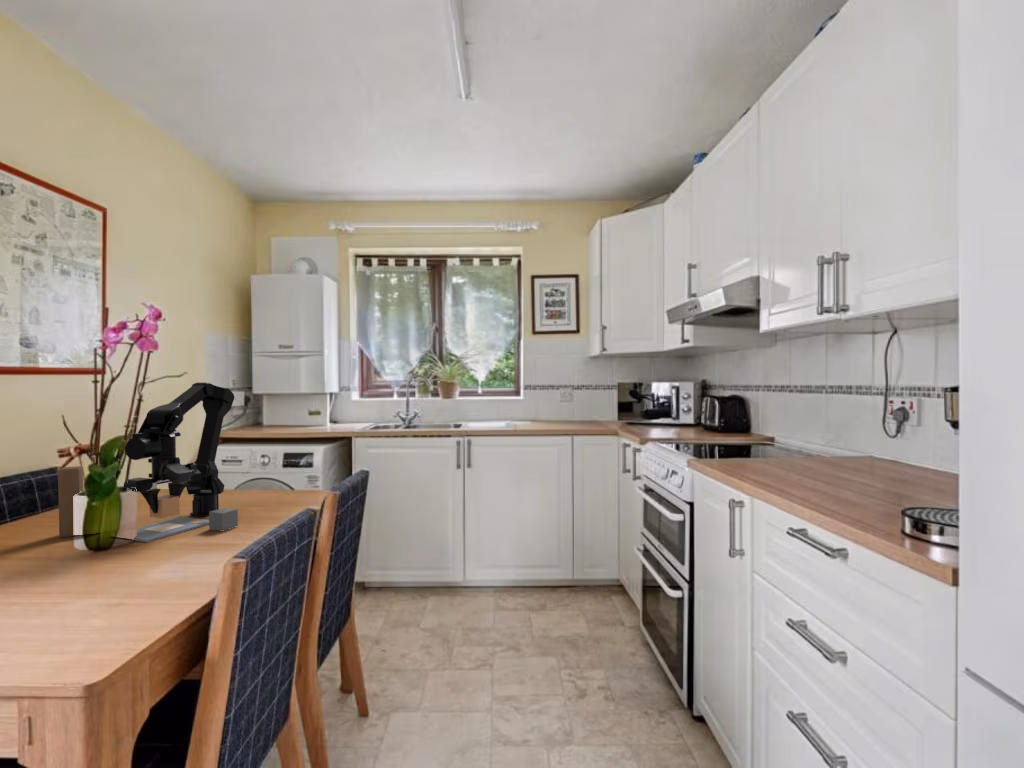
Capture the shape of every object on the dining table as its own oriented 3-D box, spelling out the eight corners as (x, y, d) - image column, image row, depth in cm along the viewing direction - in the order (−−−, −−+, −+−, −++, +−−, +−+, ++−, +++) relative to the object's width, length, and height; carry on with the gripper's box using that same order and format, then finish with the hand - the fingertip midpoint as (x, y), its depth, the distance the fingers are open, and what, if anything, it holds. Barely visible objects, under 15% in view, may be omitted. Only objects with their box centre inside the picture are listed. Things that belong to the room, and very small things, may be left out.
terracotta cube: (167, 512, 158) (166, 494, 158) (179, 514, 156) (179, 496, 156) (149, 516, 154) (149, 498, 153) (162, 518, 152) (162, 499, 152)
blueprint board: (180, 518, 167) (180, 516, 167) (214, 522, 161) (214, 520, 161) (110, 536, 148) (110, 534, 148) (146, 542, 143) (146, 539, 143)
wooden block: (104, 529, 155) (103, 464, 155) (100, 533, 151) (99, 467, 151) (64, 533, 151) (62, 467, 151) (58, 538, 147) (57, 469, 147)
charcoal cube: (224, 525, 159) (224, 507, 159) (237, 527, 157) (237, 509, 157) (209, 529, 155) (209, 511, 155) (222, 531, 153) (222, 513, 153)
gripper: (150, 461, 143) (151, 522, 143) (214, 451, 160) (215, 505, 160) (121, 458, 147) (122, 518, 147) (186, 449, 164) (187, 502, 165)
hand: (164, 510), depth 155 cm, fingers closed on terracotta cube, 5 cm apart
